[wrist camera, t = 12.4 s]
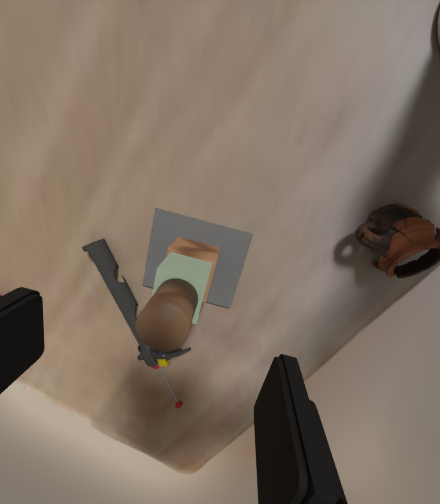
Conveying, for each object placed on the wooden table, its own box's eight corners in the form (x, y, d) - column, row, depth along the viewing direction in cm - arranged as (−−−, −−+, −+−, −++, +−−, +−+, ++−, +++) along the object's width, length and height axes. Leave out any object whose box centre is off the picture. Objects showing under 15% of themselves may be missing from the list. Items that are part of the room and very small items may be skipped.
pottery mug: (426, 201, 34) (475, 239, 28) (383, 246, 40) (415, 284, 35) (358, 194, 31) (397, 234, 26) (324, 243, 38) (348, 283, 32)
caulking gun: (131, 229, 36) (70, 251, 35) (212, 399, 46) (165, 418, 45) (137, 225, 39) (82, 246, 39) (210, 384, 50) (167, 401, 49)
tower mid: (212, 262, 32) (207, 281, 26) (203, 299, 34) (196, 324, 28) (171, 251, 32) (156, 268, 26) (163, 288, 34) (149, 311, 28)
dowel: (202, 284, 26) (193, 314, 20) (193, 319, 28) (182, 356, 22) (160, 273, 26) (139, 300, 20) (153, 309, 28) (132, 343, 22)
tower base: (219, 247, 37) (217, 260, 32) (209, 284, 39) (205, 302, 34) (178, 236, 37) (168, 247, 31) (170, 274, 39) (159, 291, 34)
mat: (252, 234, 37) (252, 234, 36) (229, 306, 41) (229, 308, 41) (156, 208, 36) (155, 208, 36) (143, 284, 41) (142, 285, 40)
